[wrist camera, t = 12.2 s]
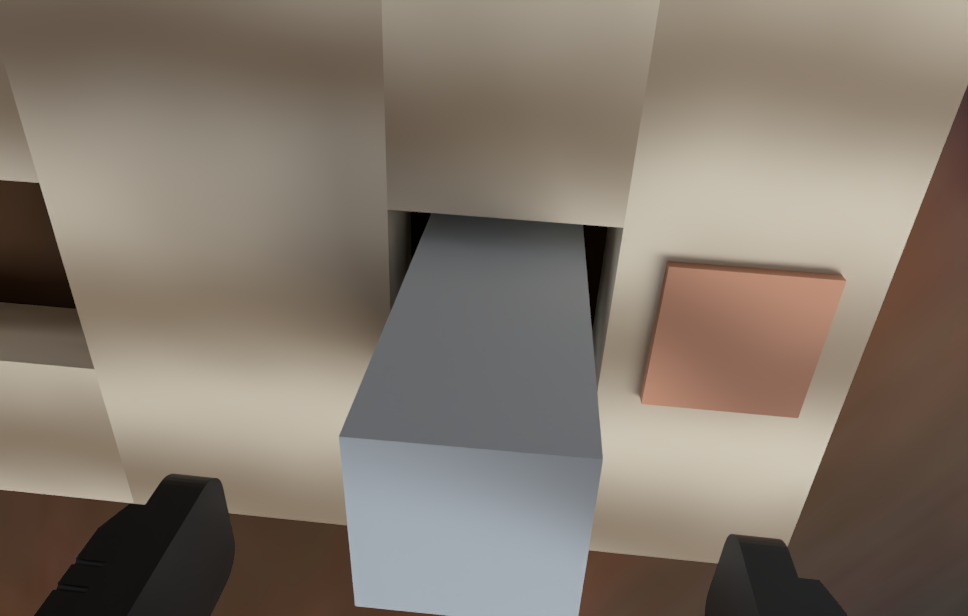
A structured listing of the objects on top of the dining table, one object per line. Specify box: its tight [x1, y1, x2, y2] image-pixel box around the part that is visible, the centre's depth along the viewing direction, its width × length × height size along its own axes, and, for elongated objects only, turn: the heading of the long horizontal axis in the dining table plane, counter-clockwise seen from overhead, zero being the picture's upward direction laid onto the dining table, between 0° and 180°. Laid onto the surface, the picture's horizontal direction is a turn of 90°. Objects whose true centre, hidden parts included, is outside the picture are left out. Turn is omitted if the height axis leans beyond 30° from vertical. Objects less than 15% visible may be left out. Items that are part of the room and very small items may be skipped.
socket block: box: [0, 0, 968, 563], centre depth 19 cm, size 16×32×3 cm, turn 88°
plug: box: [339, 213, 603, 616], centre depth 16 cm, size 4×4×10 cm
